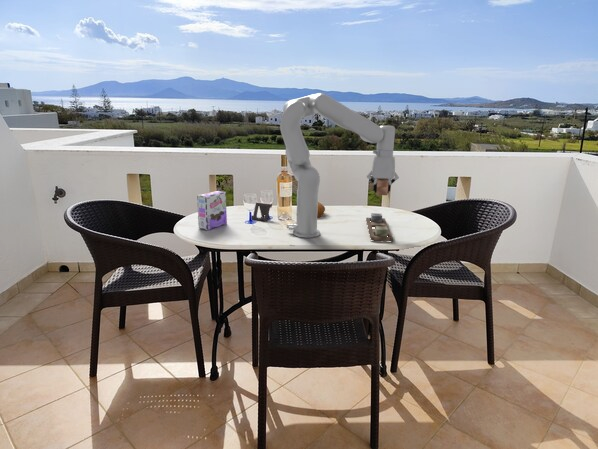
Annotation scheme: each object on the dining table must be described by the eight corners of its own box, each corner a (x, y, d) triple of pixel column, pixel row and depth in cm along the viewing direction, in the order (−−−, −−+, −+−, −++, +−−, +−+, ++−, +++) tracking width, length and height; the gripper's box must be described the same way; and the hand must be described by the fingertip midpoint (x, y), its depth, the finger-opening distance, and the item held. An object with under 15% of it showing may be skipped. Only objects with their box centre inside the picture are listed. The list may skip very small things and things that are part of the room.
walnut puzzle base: (371, 241, 174) (371, 230, 173) (366, 221, 205) (366, 211, 204) (392, 242, 174) (393, 231, 172) (384, 222, 205) (385, 212, 203)
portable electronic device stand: (250, 219, 204) (250, 204, 202) (258, 216, 211) (258, 200, 209) (265, 221, 201) (265, 206, 198) (273, 218, 208) (273, 202, 205)
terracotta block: (376, 195, 182) (377, 180, 180) (375, 192, 187) (376, 178, 185) (387, 195, 182) (388, 180, 180) (386, 193, 186) (387, 178, 184)
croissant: (325, 215, 224) (326, 201, 222) (323, 219, 208) (325, 204, 207) (299, 213, 225) (300, 199, 224) (296, 216, 210) (297, 202, 208)
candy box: (207, 230, 184) (205, 196, 180) (198, 228, 187) (196, 194, 183) (227, 224, 195) (226, 191, 191) (218, 222, 199) (217, 190, 194)
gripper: (366, 153, 176) (363, 193, 181) (405, 155, 175) (401, 195, 180) (365, 152, 183) (362, 190, 188) (402, 153, 182) (398, 191, 187)
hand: (381, 192), depth 184 cm, fingers closed on terracotta block, 5 cm apart
